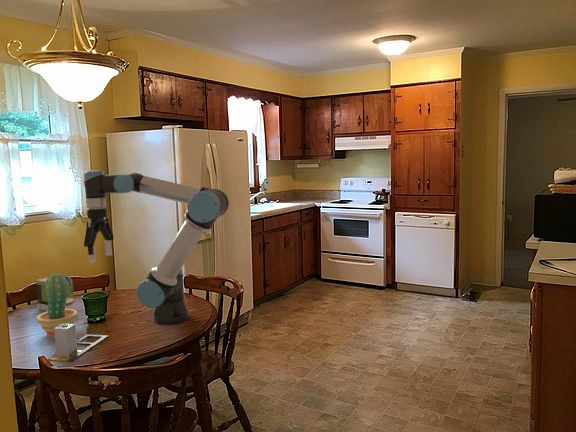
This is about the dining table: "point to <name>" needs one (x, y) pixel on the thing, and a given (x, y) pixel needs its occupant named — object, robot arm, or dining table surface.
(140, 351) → the dining table surface
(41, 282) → the tea box
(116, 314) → the dining table surface
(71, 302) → the lidded jar
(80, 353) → the grey flat rectangular frame
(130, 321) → the dining table surface
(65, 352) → the grey rectangular block
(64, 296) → the potted cactus
